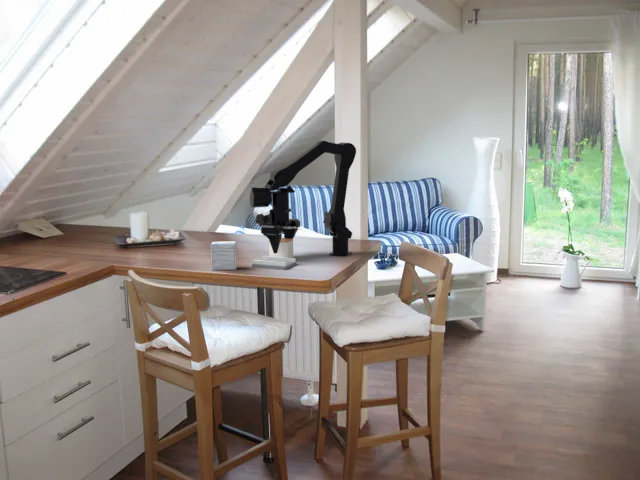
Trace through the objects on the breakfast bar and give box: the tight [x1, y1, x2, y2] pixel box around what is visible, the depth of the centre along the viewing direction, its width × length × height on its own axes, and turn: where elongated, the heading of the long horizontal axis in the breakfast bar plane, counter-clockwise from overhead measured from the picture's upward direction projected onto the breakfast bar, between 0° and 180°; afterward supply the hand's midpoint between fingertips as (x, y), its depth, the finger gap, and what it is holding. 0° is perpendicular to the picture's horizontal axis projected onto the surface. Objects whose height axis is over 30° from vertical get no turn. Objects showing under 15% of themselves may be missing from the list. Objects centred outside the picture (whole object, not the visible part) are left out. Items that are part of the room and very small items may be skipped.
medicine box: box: [210, 240, 238, 271], centre depth 220 cm, size 8×4×9 cm, turn 92°
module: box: [268, 237, 294, 258], centre depth 235 cm, size 4×7×7 cm, turn 66°
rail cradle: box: [251, 255, 298, 271], centre depth 224 cm, size 9×12×2 cm
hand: (281, 250), depth 235 cm, fingers open, 9 cm apart
